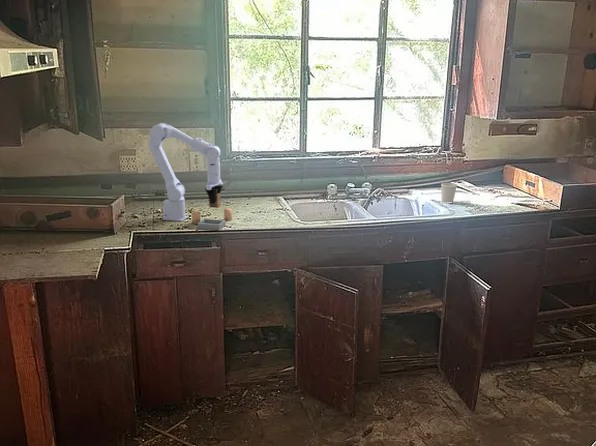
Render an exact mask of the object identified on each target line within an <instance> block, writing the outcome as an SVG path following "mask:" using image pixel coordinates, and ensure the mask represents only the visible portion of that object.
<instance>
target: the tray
mask: <svg viewBox="0 0 596 446" xmlns="http://www.w3.org/2000/svg"><path fill="white" fill-rule="evenodd" d="M224 227H226V220H224V219H215V218H213V219H212V218H203V219H202V220H200V222H199V223H198V224H197V229H201V230H209V231H210V230H212V231H220V230H222V229H223V228H224Z"/></svg>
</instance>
